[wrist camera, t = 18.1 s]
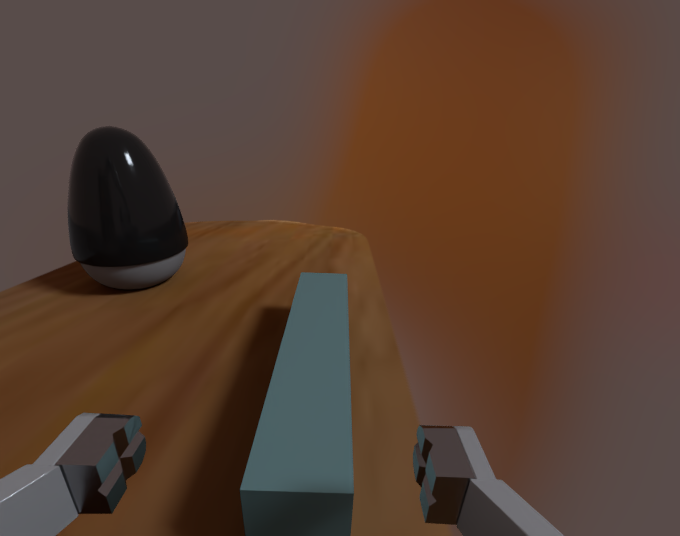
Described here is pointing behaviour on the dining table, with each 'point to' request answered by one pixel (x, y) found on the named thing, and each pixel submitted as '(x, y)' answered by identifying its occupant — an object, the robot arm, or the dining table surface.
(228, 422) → the dining table surface
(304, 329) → the long teal rectangular block
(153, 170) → the black roly-poly toy
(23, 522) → the robot arm
